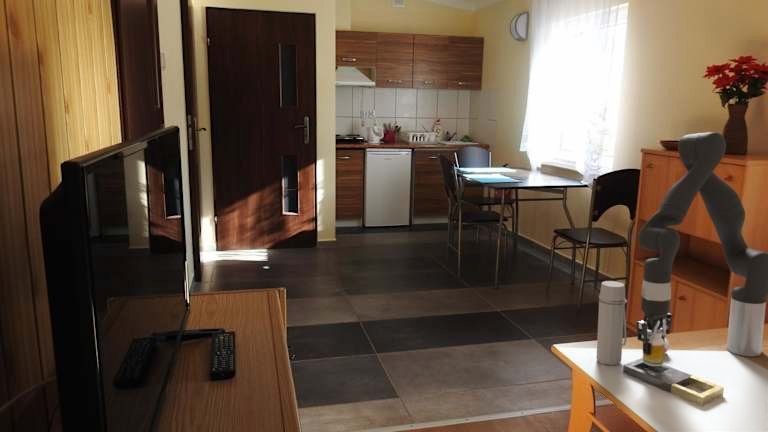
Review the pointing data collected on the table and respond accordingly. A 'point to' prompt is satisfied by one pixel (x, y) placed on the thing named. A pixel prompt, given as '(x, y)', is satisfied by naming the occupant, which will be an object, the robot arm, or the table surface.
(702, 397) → the rail
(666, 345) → the stress ball
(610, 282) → the water bottle
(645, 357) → the supplement bottle
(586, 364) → the table surface
